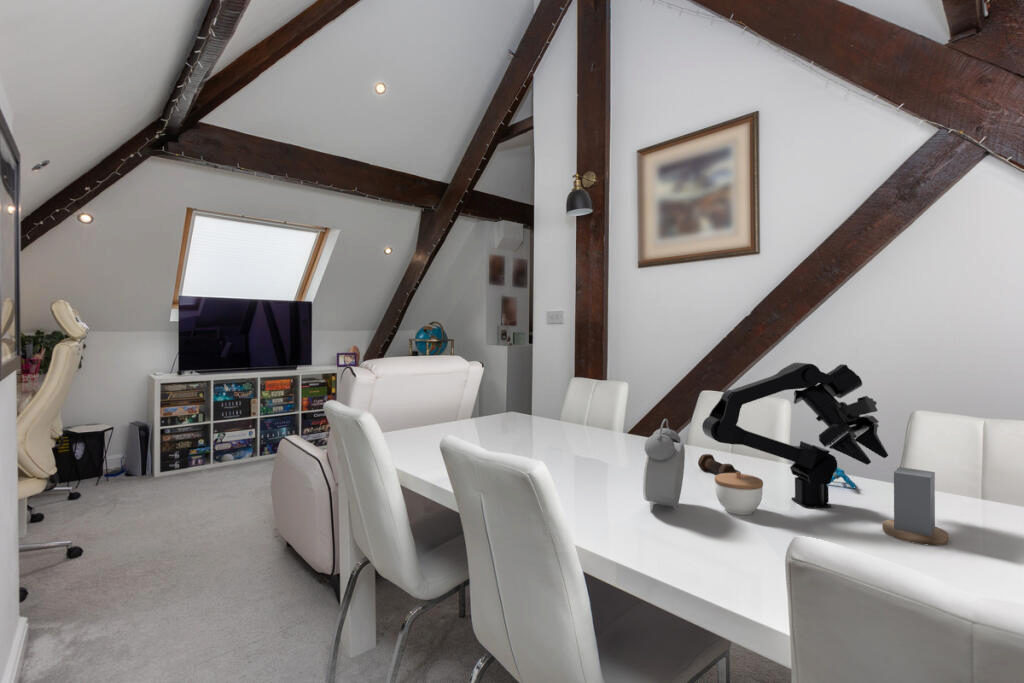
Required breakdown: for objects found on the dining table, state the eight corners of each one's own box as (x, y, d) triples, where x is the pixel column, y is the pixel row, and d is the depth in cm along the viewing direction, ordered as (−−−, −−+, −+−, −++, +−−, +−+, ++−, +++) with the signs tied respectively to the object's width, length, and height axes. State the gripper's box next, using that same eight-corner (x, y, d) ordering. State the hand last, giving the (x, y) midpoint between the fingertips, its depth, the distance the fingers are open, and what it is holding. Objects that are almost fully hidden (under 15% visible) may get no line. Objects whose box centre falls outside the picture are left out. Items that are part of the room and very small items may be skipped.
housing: (894, 528, 107) (893, 472, 107) (899, 521, 111) (899, 467, 111) (930, 536, 102) (930, 477, 102) (934, 528, 107) (934, 472, 106)
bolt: (734, 489, 145) (702, 474, 160) (748, 479, 146) (715, 465, 161) (726, 472, 144) (695, 458, 159) (739, 463, 145) (707, 450, 160)
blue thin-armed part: (858, 487, 134) (827, 457, 139) (840, 501, 136) (809, 470, 141) (858, 483, 143) (829, 454, 148) (841, 495, 145) (812, 467, 150)
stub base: (909, 545, 101) (909, 522, 101) (870, 525, 112) (869, 504, 112) (963, 544, 101) (963, 521, 101) (919, 524, 112) (919, 503, 112)
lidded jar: (725, 500, 130) (725, 464, 130) (769, 510, 122) (769, 471, 122) (707, 510, 122) (706, 472, 122) (753, 522, 115) (753, 480, 115)
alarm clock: (653, 495, 135) (652, 413, 134) (687, 499, 131) (686, 415, 131) (640, 515, 120) (639, 423, 120) (678, 520, 116) (677, 425, 116)
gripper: (832, 388, 115) (890, 445, 106) (868, 382, 125) (924, 433, 116) (797, 418, 121) (848, 474, 112) (834, 410, 132) (884, 461, 123)
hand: (878, 460), depth 116 cm, fingers open, 9 cm apart
